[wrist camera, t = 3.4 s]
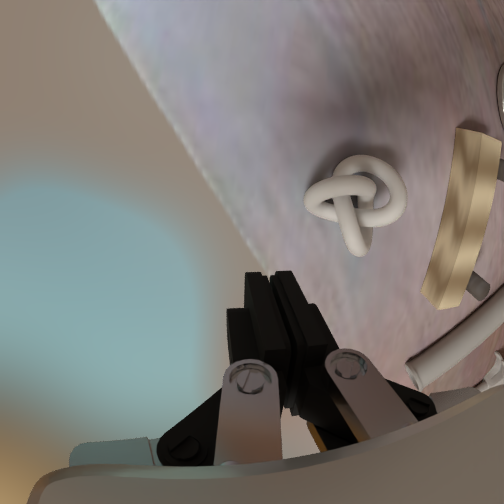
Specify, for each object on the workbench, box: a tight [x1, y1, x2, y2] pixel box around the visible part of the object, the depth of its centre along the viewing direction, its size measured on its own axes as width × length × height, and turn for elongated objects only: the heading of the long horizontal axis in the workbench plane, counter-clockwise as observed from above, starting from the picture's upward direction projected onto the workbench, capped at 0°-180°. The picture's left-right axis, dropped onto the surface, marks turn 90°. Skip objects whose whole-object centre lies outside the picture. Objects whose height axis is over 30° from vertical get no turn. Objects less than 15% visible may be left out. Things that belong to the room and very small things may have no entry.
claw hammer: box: [475, 351, 504, 392], centre depth 48 cm, size 5×22×30 cm
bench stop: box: [420, 128, 504, 310], centre depth 24 cm, size 20×7×6 cm, turn 178°
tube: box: [405, 285, 504, 392], centre depth 34 cm, size 5×5×25 cm
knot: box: [304, 155, 407, 257], centre depth 22 cm, size 8×8×6 cm
